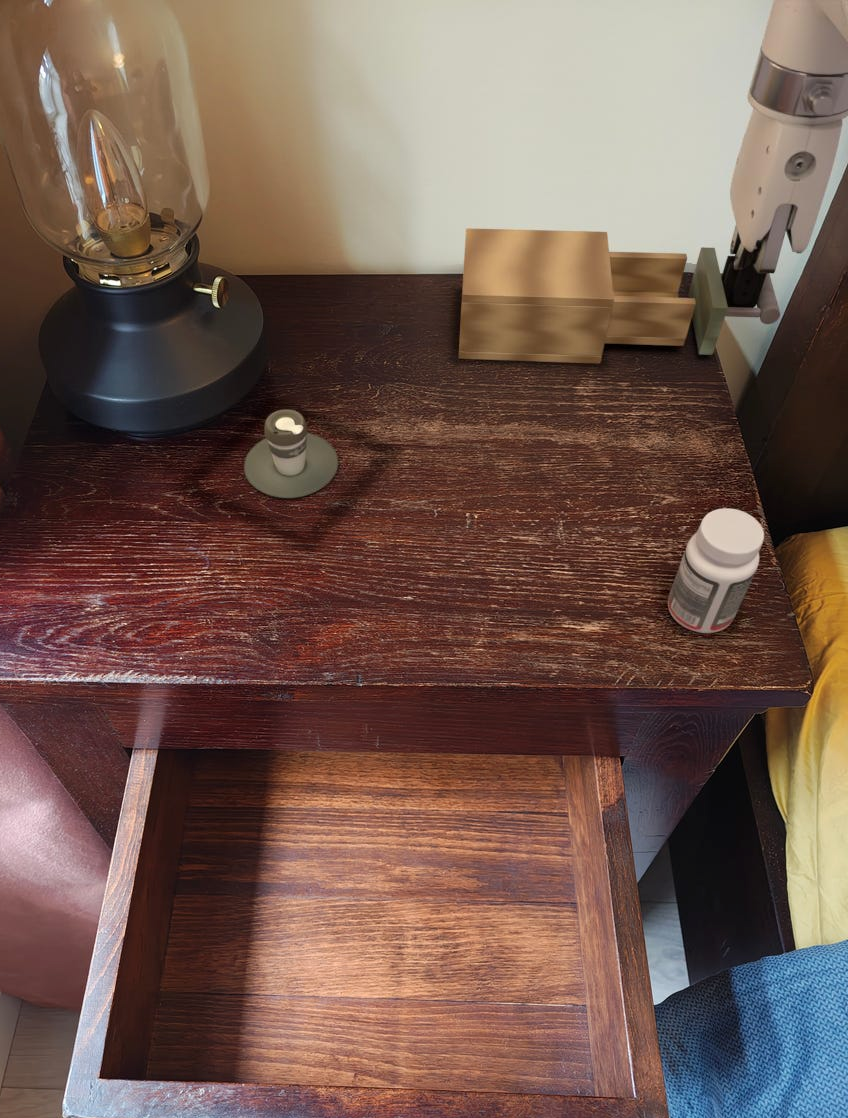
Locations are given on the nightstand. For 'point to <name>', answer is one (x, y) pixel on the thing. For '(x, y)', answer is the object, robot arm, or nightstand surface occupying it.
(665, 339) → the drawer
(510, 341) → the cabinet
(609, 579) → the nightstand surface
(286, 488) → the coffee cup
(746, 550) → the pill bottle
